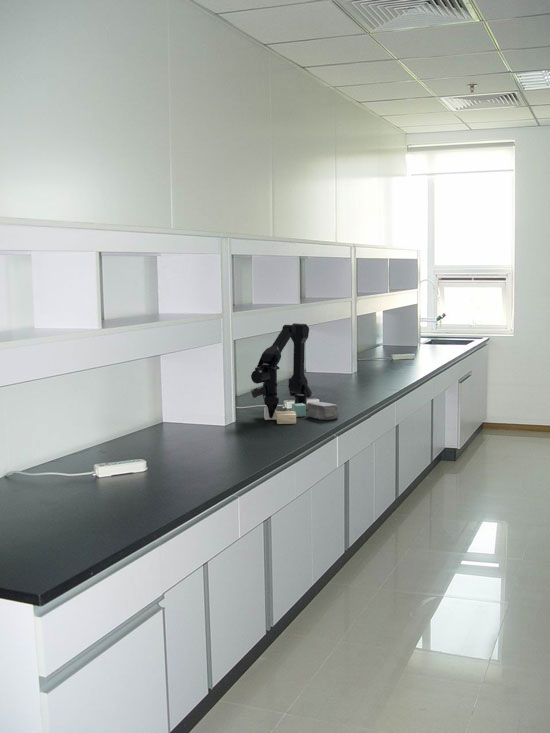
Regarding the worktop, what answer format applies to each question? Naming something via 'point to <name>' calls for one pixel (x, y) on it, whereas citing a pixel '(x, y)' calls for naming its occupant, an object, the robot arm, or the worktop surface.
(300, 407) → the teal cube
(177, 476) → the worktop surface
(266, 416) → the cream cube
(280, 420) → the maple block
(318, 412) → the decorative stone
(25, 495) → the worktop surface
